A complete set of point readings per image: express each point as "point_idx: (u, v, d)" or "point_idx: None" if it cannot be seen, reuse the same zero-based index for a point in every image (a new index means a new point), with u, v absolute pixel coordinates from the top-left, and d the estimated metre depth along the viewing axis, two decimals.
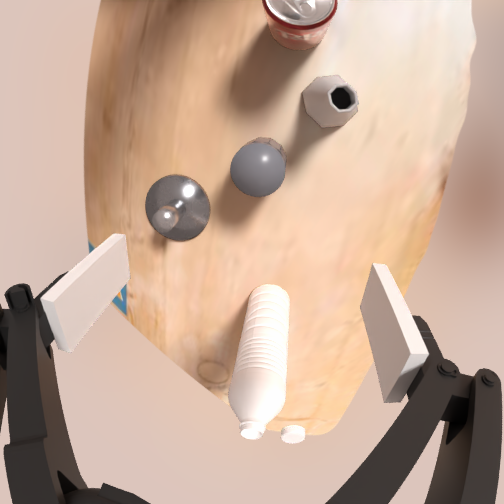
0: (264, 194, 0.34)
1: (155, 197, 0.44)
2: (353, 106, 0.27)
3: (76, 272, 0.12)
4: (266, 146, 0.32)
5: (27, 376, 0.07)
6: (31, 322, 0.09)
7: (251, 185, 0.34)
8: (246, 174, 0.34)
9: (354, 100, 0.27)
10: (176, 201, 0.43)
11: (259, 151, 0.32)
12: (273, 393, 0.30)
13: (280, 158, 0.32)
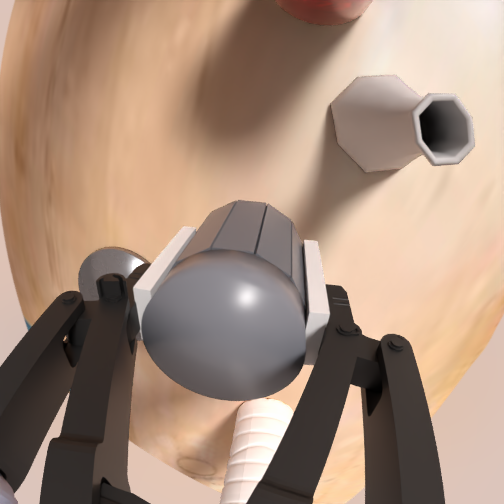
0: (243, 397, 0.12)
1: (90, 279, 0.27)
2: (464, 151, 0.10)
3: (162, 262, 0.13)
4: (245, 287, 0.09)
5: (100, 372, 0.08)
6: (119, 316, 0.10)
7: (206, 379, 0.11)
8: (188, 355, 0.11)
9: (464, 136, 0.10)
10: None
11: (222, 301, 0.10)
12: None
13: (293, 323, 0.10)
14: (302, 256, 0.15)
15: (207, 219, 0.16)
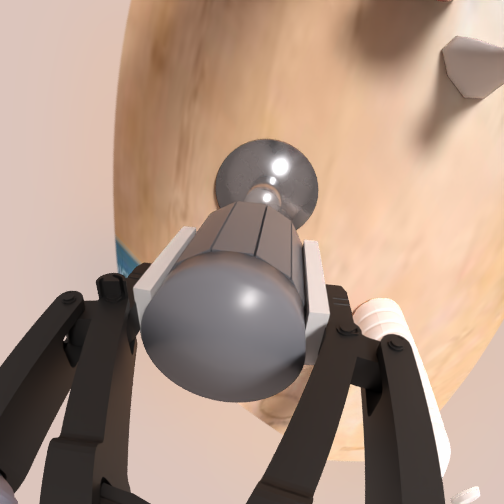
0: (243, 399, 0.12)
1: (233, 172, 0.29)
2: None
3: (162, 262, 0.13)
4: (245, 289, 0.09)
5: (100, 372, 0.08)
6: (119, 315, 0.10)
7: (206, 380, 0.11)
8: (188, 357, 0.11)
9: None
10: (271, 178, 0.28)
11: (221, 303, 0.10)
12: (447, 454, 0.16)
13: (293, 326, 0.10)
14: (302, 257, 0.15)
15: (207, 220, 0.16)
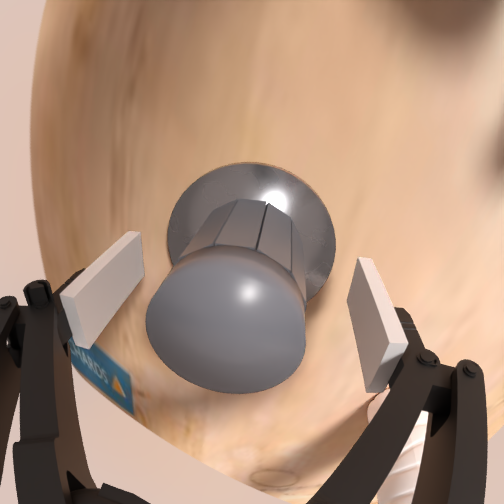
0: (244, 390, 0.12)
1: (194, 219, 0.18)
2: None
3: (94, 268, 0.12)
4: (247, 281, 0.10)
5: (42, 373, 0.07)
6: (49, 319, 0.09)
7: (208, 372, 0.12)
8: (191, 348, 0.11)
9: None
10: None
11: (224, 294, 0.10)
12: None
13: (293, 316, 0.10)
14: (302, 253, 0.16)
15: (209, 217, 0.16)
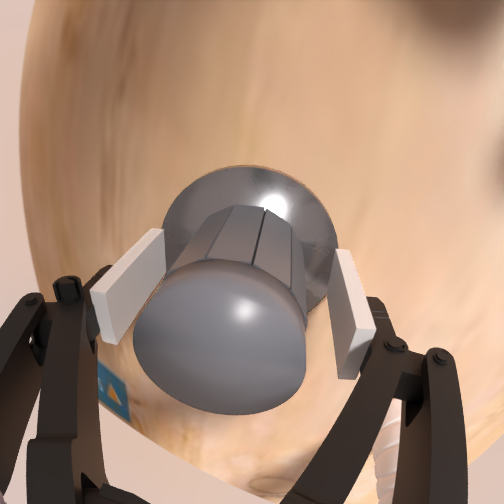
0: (240, 412, 0.11)
1: (188, 226, 0.17)
2: None
3: (122, 264, 0.13)
4: (241, 302, 0.09)
5: (65, 372, 0.07)
6: (78, 316, 0.10)
7: (201, 393, 0.11)
8: (182, 370, 0.10)
9: None
10: None
11: (216, 316, 0.09)
12: None
13: (293, 340, 0.09)
14: (302, 263, 0.15)
15: (203, 224, 0.15)
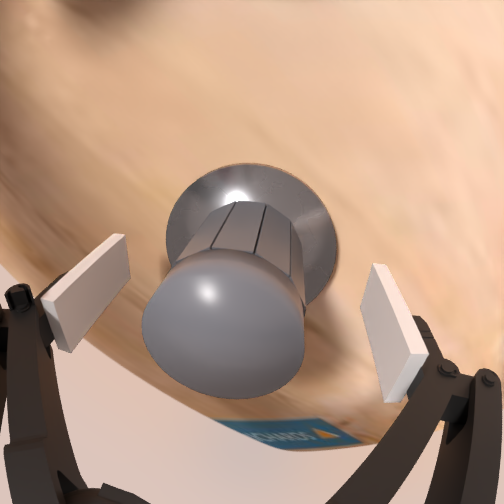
0: (294, 367, 0.11)
1: None
2: None
3: (76, 272, 0.12)
4: (161, 293, 0.10)
5: (27, 376, 0.07)
6: (31, 322, 0.09)
7: (251, 377, 0.11)
8: (216, 371, 0.11)
9: None
10: None
11: (168, 316, 0.10)
12: None
13: (214, 280, 0.10)
14: (259, 213, 0.15)
15: None
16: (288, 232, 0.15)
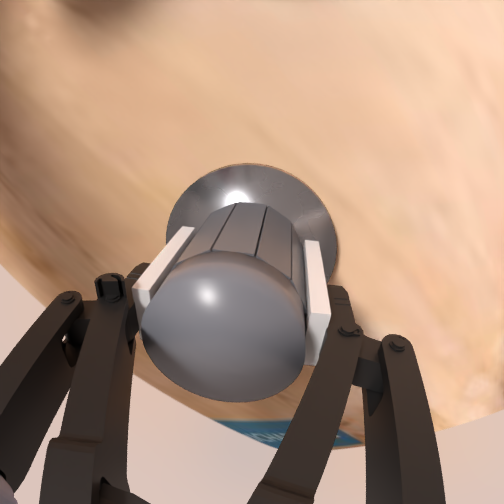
0: (295, 370, 0.11)
1: None
2: None
3: (161, 262, 0.13)
4: (160, 296, 0.10)
5: (98, 372, 0.08)
6: (118, 315, 0.10)
7: (251, 381, 0.11)
8: (216, 375, 0.11)
9: None
10: None
11: (167, 319, 0.10)
12: None
13: (214, 284, 0.09)
14: (259, 214, 0.15)
15: None
16: (289, 234, 0.15)
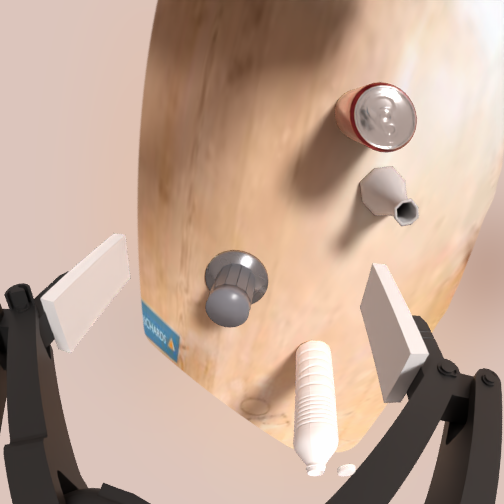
0: (233, 326, 0.43)
1: (216, 269, 0.49)
2: (413, 219, 0.32)
3: (76, 272, 0.12)
4: (233, 294, 0.41)
5: (27, 376, 0.07)
6: (31, 322, 0.09)
7: (222, 319, 0.43)
8: (218, 312, 0.42)
9: (415, 213, 0.32)
10: None
11: (227, 297, 0.41)
12: (332, 441, 0.35)
13: (244, 303, 0.41)
14: (253, 283, 0.47)
15: (222, 270, 0.47)
16: None
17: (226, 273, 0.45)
